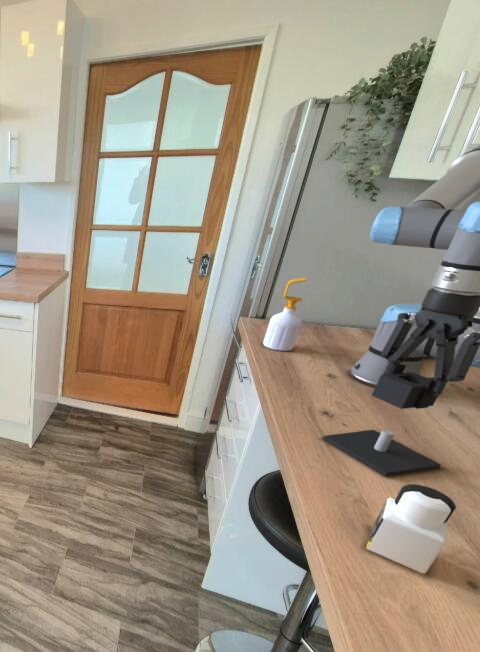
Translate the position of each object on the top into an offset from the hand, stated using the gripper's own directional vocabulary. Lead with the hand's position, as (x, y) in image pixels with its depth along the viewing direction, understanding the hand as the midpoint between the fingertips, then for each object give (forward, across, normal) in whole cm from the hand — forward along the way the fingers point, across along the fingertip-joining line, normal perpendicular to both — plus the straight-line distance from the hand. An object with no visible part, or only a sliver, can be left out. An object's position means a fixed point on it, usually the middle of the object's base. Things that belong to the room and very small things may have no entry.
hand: (402, 399), depth 90 cm
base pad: (+13, 0, 0) cm, 13 cm away
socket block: (0, 0, 0) cm, 0 cm away
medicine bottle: (+14, +23, -25) cm, 37 cm away
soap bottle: (+13, -60, +31) cm, 69 cm away
